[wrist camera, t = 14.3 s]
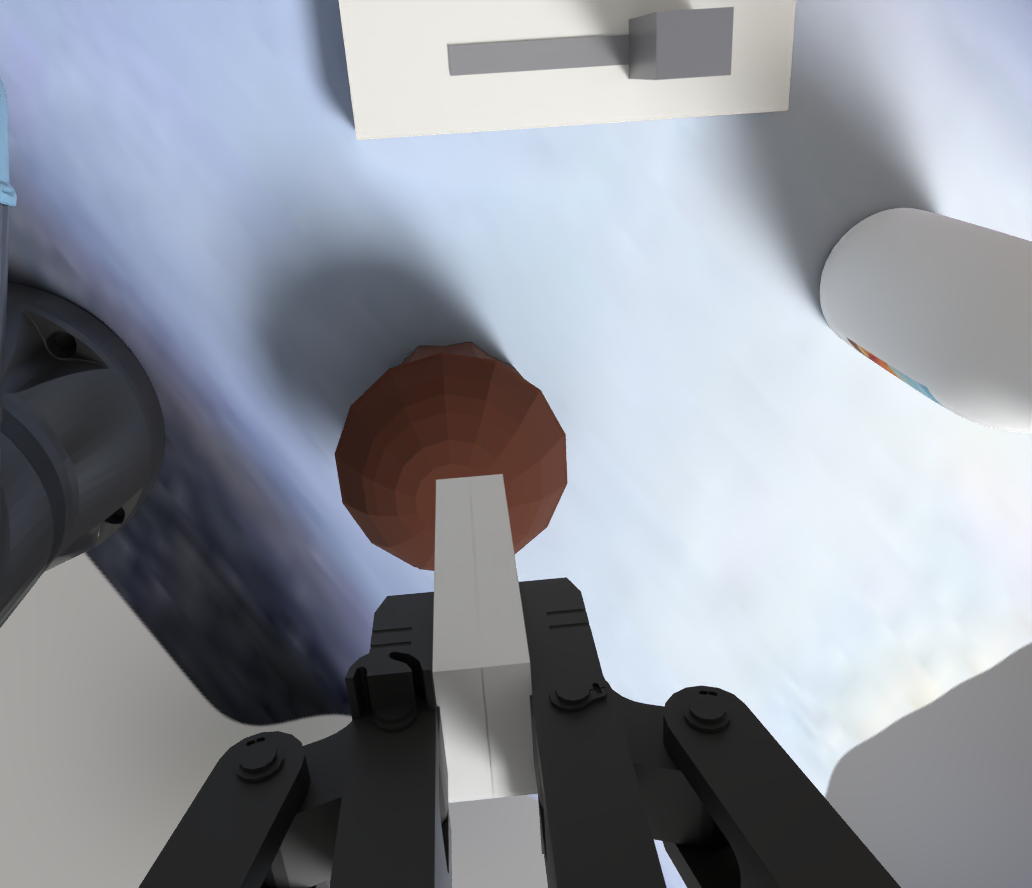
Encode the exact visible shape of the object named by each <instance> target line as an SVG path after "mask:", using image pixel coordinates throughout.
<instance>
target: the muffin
mask: <svg viewBox="0 0 1032 888" xmlns="http://www.w3.org/2000/svg"><path fill="white" fill-rule="evenodd" d="M335 459H336V465H337V471H338V477H339V484H340V490H341V496H342V502H343V504H344V505H345V507H346V508H347V510H348V511H349V512H350V514H351V515H352V517H353V518H354V519H355V521H356V522H357V523H358V525H359V526H360V528H361V529H362V530H363V532H364V533H365V535H366V536H367V537H368V539H369V540H370V541H371V543H373V544H375V545H376V546H378V547H380V548H382V549H383V550H385V551H387V552H389V553H391V554H392V555H394V556H396V557H398V558H399V559H401V560H403V561H405V562H406V563H408V564H410V565H412V566H414V567H417V568H419V569H423V570H432V571H434V568H435V516H436V480H439V479H451V478H462V477H473V476H485V475H496V474H503V480H504V487H505V494H506V500H507V507H508V514H509V521H510V528H511V535H512V542H513V548H514V555H515V554H516V553H517V552H518V551H519V550H521V549H522V548H523V547H524V546H525V545H526V544H528V543H529V542H530V541H531V540H532V539H534V538H535V537H536V536H537V535H538V534H539V533H541V532H542V531H543V530H544V529H545V528H547V526H548V524H549V522H550V520H551V518H552V515H553V513H554V511H555V509H556V507H557V504H558V502H559V500H560V498H561V496H562V494H563V491H564V489H565V487H566V485H567V463H566V435H565V433H564V431H563V429H562V427H561V426H560V424H559V422H558V420H557V419H556V417H555V415H554V413H553V411H552V410H551V408H550V406H549V404H548V402H547V401H546V399H545V397H544V395H543V394H542V392H541V390H540V389H538V388H537V387H535V386H534V385H532V384H531V383H529V382H528V381H526V380H525V379H524V378H523V377H522V376H521V375H520V374H519V372H518V371H517V370H516V369H515V368H514V367H513V366H511V365H509V364H507V363H504V362H502V361H500V360H498V359H496V358H494V357H492V356H490V355H489V354H487V353H486V352H484V351H483V350H482V349H480V348H479V347H477V346H476V345H475V344H473V343H472V342H465V343H459V344H453V345H448V346H418V347H417V348H416V349H415V350H414V351H413V352H412V353H411V354H410V355H409V356H408V358H407V359H406V360H405V361H404V362H403V363H402V364H400V365H399V366H397V367H394V368H391V369H389V370H388V371H387V372H386V373H384V374H383V375H382V376H381V377H380V378H379V379H378V380H377V381H376V382H375V383H374V384H373V385H372V386H371V387H370V388H369V389H368V390H367V391H366V392H365V393H364V394H363V395H362V396H361V397H360V398H359V399H357V400H356V401H355V402H354V403H353V404H352V405H351V407H350V410H349V413H348V416H347V419H346V422H345V425H344V428H343V431H342V434H341V437H340V440H339V443H338V446H337V449H336V452H335Z"/></svg>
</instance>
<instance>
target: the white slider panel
mask: <svg viewBox="0 0 1032 888" xmlns="http://www.w3.org/2000/svg"><path fill="white" fill-rule="evenodd" d="M339 7H340V15H341V23H342V31H343V38H344V46H345V54H346V61H347V69H348V77H349V84H350V92H351V100H352V107H353V115H354V123H355V131H356V138H357V140H364V139H379V138H394V137H409V136H423V135H438V134H453V133H467V132H482V131H497V130H511V129H526V128H541V127H556V126H570V125H585V124H600V123H614V122H629V121H644V120H659V119H673V118H688V117H703V116H717V115H732V114H747V113H761V112H776V111H788V107H789V93H790V79H791V65H792V51H793V37H794V23H795V9H796V0H339Z"/></svg>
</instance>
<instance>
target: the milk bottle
mask: <svg viewBox="0 0 1032 888" xmlns="http://www.w3.org/2000/svg"><path fill="white" fill-rule="evenodd" d="M820 304H821V308H822V312H823V315H824V317H825V319H826V322H827V323H828V325H829V327H830V328H831V329H832V330H833V332H834V333H835V334H836V335H837V336H838V337H840V338H841V339H842V340H844V341H845V342H846V343H847V344H849V345H850V346H851V347H853V348H854V349H856V350H857V351H859V352H860V353H862V354H863V355H865V356H866V357H868V358H869V359H871V360H872V361H874V362H875V363H877V364H878V365H880V366H881V367H883V368H884V369H886V370H887V371H889V372H890V373H892V374H893V375H895V376H896V377H898V378H899V379H901V380H902V381H904V382H905V383H907V384H908V385H910V386H911V387H913V388H914V389H916V390H918V391H919V392H921V393H922V394H924V395H925V396H927V397H928V398H930V399H931V400H933V401H935V402H936V403H938V404H940V405H941V406H943V407H945V408H947V409H948V410H950V411H952V412H954V413H955V414H957V415H959V416H961V417H963V418H965V419H968V420H970V421H973V422H975V423H977V424H980V425H983V426H987V427H990V428H994V429H998V430H1003V431H1010V432H1019V433H1032V242H1031V241H1028V240H1024V239H1021V238H1018V237H1015V236H1011V235H1008V234H1005V233H1001V232H998V231H995V230H992V229H988V228H985V227H981V226H978V225H974V224H971V223H967V222H964V221H961V220H957V219H954V218H950V217H947V216H943V215H939V214H936V213H932V212H928V211H924V210H920V209H914V208H894V209H888V210H885V211H881V212H878V213H876V214H873V215H871V216H869V217H867V218H866V219H864V220H862V221H861V222H859V223H858V224H856V225H855V226H853V227H852V228H851V229H850V230H849V231H848V232H847V233H846V234H845V235H843V236H842V237H841V239H840V240H839V241H838V243H837V244H836V245H835V246H834V248H833V249H832V251H831V253H830V255H829V257H828V258H827V260H826V263H825V266H824V269H823V272H822V275H821V282H820Z"/></svg>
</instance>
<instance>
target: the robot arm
mask: <svg viewBox="0 0 1032 888" xmlns="http://www.w3.org/2000/svg"><path fill="white" fill-rule="evenodd" d="M16 200H17V195H16V193H15V190H14V188H13V187H12V186H11V185H10V183H9V147H8V103H7V96H6V91H5V88H4V85H3V82H2V80H1V78H0V627H1V626H2V625H3V624H4V622H5V621H6V620H7V619H8V617H9V616H10V615H11V614H12V612H13V611H14V610H15V609H16V607H17V606H18V605H19V604H20V602H21V601H22V600H23V598H24V597H25V596H26V595H27V593H28V592H29V591H30V590H31V588H32V587H33V586H34V584H35V583H36V582H37V580H38V579H39V578H40V576H41V575H42V574H43V573H44V572H45V571H47V570H49V569H51V568H53V567H55V566H57V565H59V564H61V563H63V562H65V561H68V560H70V559H72V558H74V557H76V556H78V555H80V554H82V553H84V552H86V551H88V550H90V549H92V548H94V547H96V546H98V545H100V544H101V543H103V542H104V541H106V540H107V539H109V538H110V537H111V536H113V535H114V534H115V533H116V532H117V531H119V530H120V529H121V528H122V527H123V526H124V525H125V524H126V523H127V522H128V521H129V520H130V519H131V517H132V516H133V515H134V514H135V512H136V511H137V510H138V508H139V507H140V505H141V504H142V502H143V501H144V500H145V498H146V497H147V495H148V494H149V492H150V491H151V489H152V487H153V485H154V483H155V481H156V479H157V477H158V474H159V471H160V468H161V465H162V460H163V455H164V448H165V429H164V421H163V416H162V411H161V407H160V404H159V400H158V398H157V395H156V392H155V390H154V388H153V386H152V383H151V381H150V379H149V378H148V376H147V374H146V372H145V370H144V369H143V367H142V366H141V364H140V363H139V361H138V360H137V359H136V357H135V356H134V355H133V353H132V352H131V351H130V350H129V349H128V347H127V346H126V345H125V344H124V343H123V342H122V341H121V340H120V339H119V338H118V337H117V336H116V335H115V334H114V333H113V332H112V331H111V330H110V329H109V328H107V327H106V326H105V325H104V324H102V323H101V322H100V321H99V320H97V319H96V318H94V317H93V316H92V315H90V314H89V313H87V312H86V311H84V310H82V309H81V308H79V307H77V306H76V305H74V304H72V303H70V302H68V301H66V300H64V299H62V298H59V297H57V296H55V295H52V294H50V293H47V292H45V291H42V290H38V289H35V288H32V287H28V286H24V285H20V284H14V283H9V282H8V258H9V233H10V207H11V206H16ZM370 646H371V649H370V653H369V654H367V655H365V656H363V657H361V658H359V659H358V660H357V661H356V662H355V663H354V664H353V665H352V666H351V667H350V668H349V670H348V673H347V675H346V677H345V681H346V687H347V692H348V698H349V703H350V709H351V714H352V722H351V723H350V724H349V725H348V726H346V727H345V728H343V729H342V730H340V731H339V732H337V733H336V734H334V735H331V736H329V737H327V738H325V739H322V740H319V741H317V742H313V743H311V744H308V745H305V746H302V743H301V742H300V741H299V740H298V739H297V738H295V737H294V736H293V735H291V734H287V733H283V732H279V731H276V732H262V733H259V734H256V735H253V736H250V737H247V738H245V739H243V740H241V741H240V742H238V743H237V744H235V745H234V746H232V747H231V748H229V749H228V751H227V752H226V753H225V754H224V755H223V756H222V757H221V758H220V760H219V761H218V762H217V764H216V766H215V767H214V769H213V771H212V772H211V774H210V775H209V777H208V778H207V780H206V782H205V783H204V785H203V786H202V788H201V790H200V791H199V793H198V794H197V796H196V797H195V799H194V801H193V802H192V804H191V806H190V807H189V808H188V810H187V812H186V813H185V815H184V816H183V818H182V820H181V821H180V823H179V824H178V826H177V828H176V829H175V831H174V832H173V834H172V835H171V837H170V839H169V840H168V842H167V843H166V845H165V847H164V848H163V850H162V851H161V853H160V855H159V856H158V858H157V859H156V861H155V862H154V864H153V866H152V867H151V869H150V871H149V872H148V874H147V875H146V877H145V878H144V880H143V881H142V883H141V885H140V886H139V888H452V867H451V866H452V864H451V826H450V818H449V810H448V799H449V803H452V802H462V801H471V800H479V799H489V798H499V797H508V796H517V795H527V794H537V793H538V800H539V815H540V831H541V844H542V845H541V846H542V854H544V858H545V865H546V874H547V882H548V888H666V884H665V880H664V877H663V873H662V869H661V866H660V862H659V858H658V854H657V851H656V847H655V843H654V840H653V839H655V840H661V841H663V844H664V847H665V850H666V852H667V853H668V855H669V857H670V859H671V860H672V862H673V864H674V865H675V867H676V869H677V871H678V872H679V874H680V876H681V877H682V879H683V881H684V883H685V884H686V886H687V888H901V887H900V886H899V885H898V884H897V882H896V881H895V880H894V879H893V878H892V877H891V875H890V874H889V873H888V872H887V871H886V870H885V869H884V867H883V866H882V865H881V864H880V862H879V861H878V860H877V859H876V858H875V857H874V855H873V854H872V853H871V852H870V851H869V850H868V848H867V847H866V846H865V845H864V844H863V843H862V841H861V840H860V839H859V838H858V836H857V835H856V834H855V833H854V832H853V831H852V830H851V828H850V827H849V826H848V825H847V824H846V822H845V821H844V820H843V819H842V818H841V816H840V815H839V814H838V813H837V812H836V811H835V809H834V808H833V807H832V806H831V805H830V803H829V802H828V801H827V800H826V799H825V798H824V796H823V795H822V794H821V793H820V792H819V791H818V789H817V788H816V787H815V786H814V785H813V783H812V782H811V781H810V780H809V779H808V778H807V776H806V775H805V774H804V773H803V772H802V770H801V769H800V768H799V767H798V766H797V765H796V763H795V762H794V761H793V760H792V759H791V758H790V756H789V755H788V754H787V753H786V752H785V750H784V749H783V748H782V747H781V746H780V745H779V743H778V742H777V741H776V740H775V739H774V737H773V736H772V735H771V734H770V733H769V732H768V730H767V729H766V728H765V727H764V726H763V725H762V723H761V722H760V721H759V720H758V719H757V717H756V716H755V715H754V714H753V713H752V712H751V710H750V709H749V708H748V707H747V706H746V705H745V703H743V702H742V701H741V700H740V699H738V698H737V697H736V696H735V695H734V694H732V693H729V692H727V691H724V690H722V689H719V688H715V687H708V686H696V687H688V688H684V689H682V690H680V691H678V692H676V693H674V694H673V695H672V696H671V697H670V698H669V700H668V701H667V702H666V703H665V707H663V706H656V705H649V704H644V703H639V702H635V701H632V700H629V699H627V698H625V697H622V696H621V695H619V694H618V693H616V692H615V691H614V690H612V688H611V687H610V685H609V683H608V682H607V681H605V679H604V676H603V674H602V670H601V666H600V662H599V659H598V655H597V651H596V647H595V643H594V640H593V636H592V632H591V628H590V626H589V621H588V617H587V613H586V611H585V605H584V602H583V598H582V594H581V591H580V590H579V589H578V588H577V587H576V586H575V585H574V584H573V583H572V582H571V581H569V580H568V579H567V578H556V579H545V580H535V581H524V582H518V576H517V569H516V562H515V555H514V548H513V542H512V535H511V528H510V521H509V514H508V507H507V500H506V494H505V487H504V480H503V474H496V475H485V476H473V477H462V478H451V479H439V480H436V516H435V568H434V592H427V593H416V594H405V595H395V596H387V597H386V599H385V600H384V601H383V603H382V604H381V605H380V607H379V608H378V609H377V610H376V612H375V614H374V621H373V629H372V637H371V645H370ZM330 879H331V880H330ZM329 884H330V887H329Z"/></svg>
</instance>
